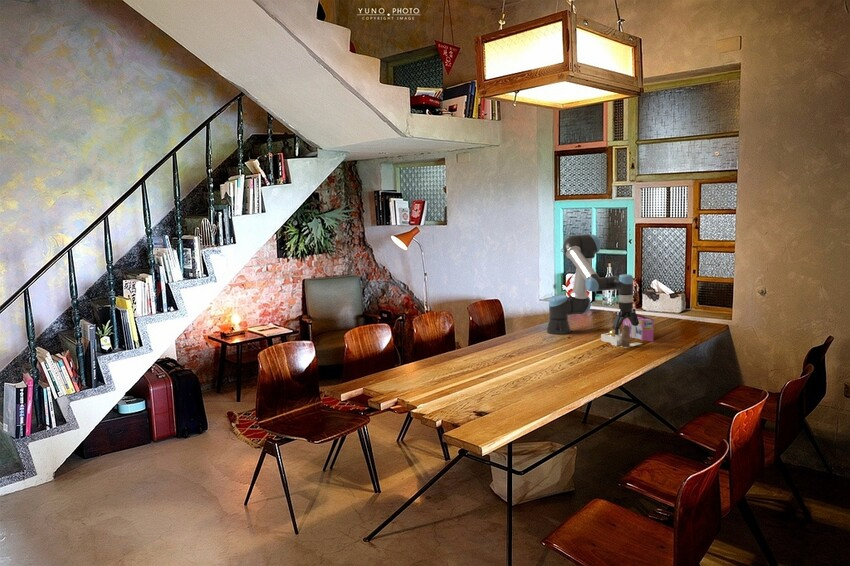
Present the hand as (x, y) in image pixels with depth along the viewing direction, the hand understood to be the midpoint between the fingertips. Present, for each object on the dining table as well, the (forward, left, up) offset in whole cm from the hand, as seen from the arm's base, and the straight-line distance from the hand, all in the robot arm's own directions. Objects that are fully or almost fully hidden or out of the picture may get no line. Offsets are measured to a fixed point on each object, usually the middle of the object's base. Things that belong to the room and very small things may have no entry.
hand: (625, 338), depth 372 cm
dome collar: (-14, +6, -5) cm, 15 cm away
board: (-8, +5, -6) cm, 11 cm away
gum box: (-13, +27, -6) cm, 30 cm away
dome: (-14, +6, -4) cm, 15 cm away
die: (-6, -1, -5) cm, 8 cm away
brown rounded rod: (0, 0, -5) cm, 5 cm away
